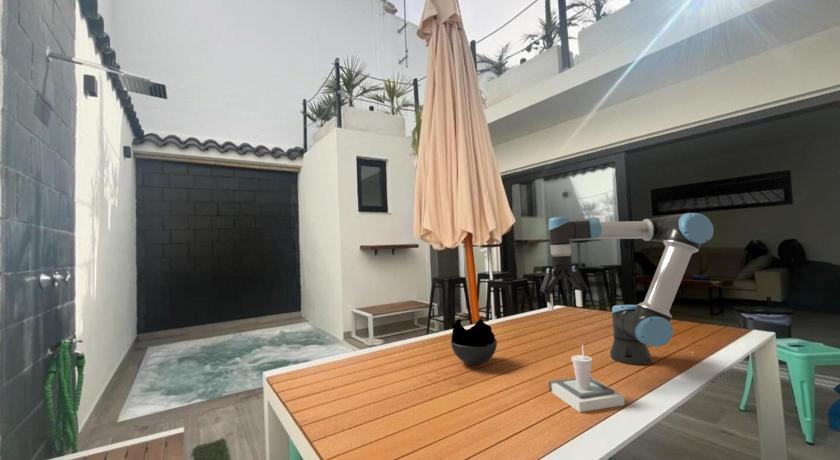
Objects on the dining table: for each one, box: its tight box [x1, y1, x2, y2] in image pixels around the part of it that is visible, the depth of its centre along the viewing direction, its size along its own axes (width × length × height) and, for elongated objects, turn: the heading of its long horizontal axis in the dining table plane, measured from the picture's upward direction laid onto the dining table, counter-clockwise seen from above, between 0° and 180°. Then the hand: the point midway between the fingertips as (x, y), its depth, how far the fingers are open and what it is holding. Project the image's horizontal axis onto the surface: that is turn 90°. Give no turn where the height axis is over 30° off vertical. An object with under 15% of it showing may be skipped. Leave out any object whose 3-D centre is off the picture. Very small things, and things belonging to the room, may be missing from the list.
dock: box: [548, 377, 625, 413], centre depth 112 cm, size 16×16×4 cm
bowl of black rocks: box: [450, 318, 498, 366], centre depth 148 cm, size 20×20×19 cm
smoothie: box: [571, 344, 593, 390], centre depth 113 cm, size 6×6×14 cm
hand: (565, 308), depth 135 cm, fingers open, 13 cm apart
